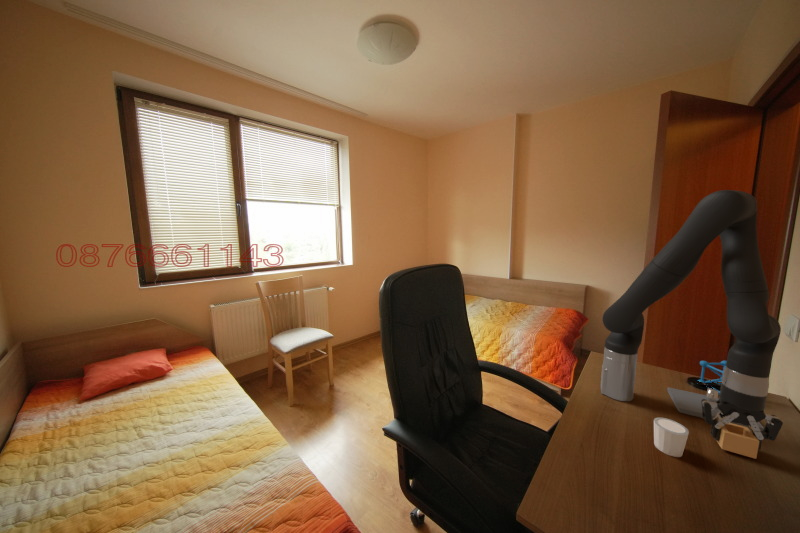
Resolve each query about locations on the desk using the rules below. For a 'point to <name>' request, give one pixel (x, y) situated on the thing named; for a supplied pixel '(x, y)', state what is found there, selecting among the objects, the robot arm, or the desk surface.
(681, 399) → the post board
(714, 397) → the steel post
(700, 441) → the desk surface
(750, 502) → the desk surface
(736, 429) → the ochre collar
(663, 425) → the shot glass
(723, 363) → the molecular structure
